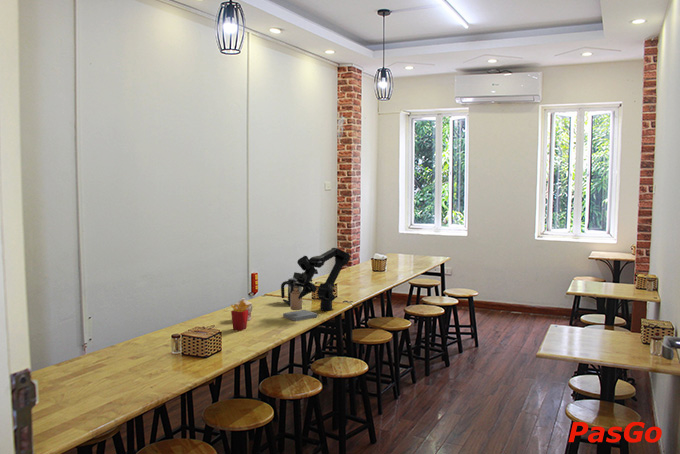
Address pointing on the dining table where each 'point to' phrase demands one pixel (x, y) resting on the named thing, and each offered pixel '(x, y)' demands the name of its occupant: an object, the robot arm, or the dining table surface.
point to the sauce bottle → (295, 299)
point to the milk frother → (288, 290)
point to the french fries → (240, 316)
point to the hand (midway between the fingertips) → (294, 297)
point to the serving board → (300, 315)
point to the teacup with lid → (246, 308)
